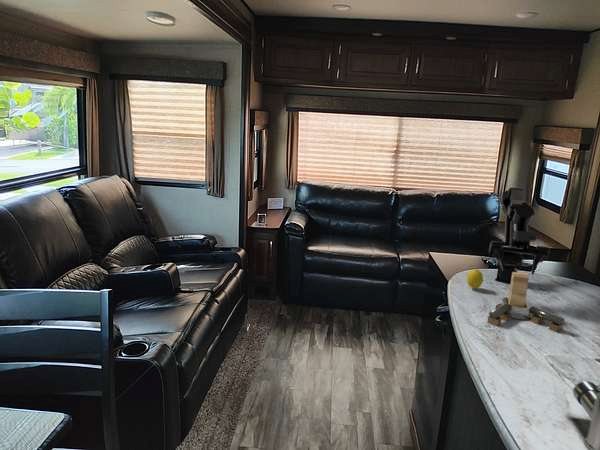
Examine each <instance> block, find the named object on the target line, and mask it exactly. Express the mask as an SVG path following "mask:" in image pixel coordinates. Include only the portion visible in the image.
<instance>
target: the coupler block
mask: <svg viewBox="0 0 600 450" xmlns="http://www.w3.org/2000/svg"><path fill="white" fill-rule="evenodd" d="M529 279H530V277H529V275H528V273H524V272H518V273H517V272H512V279H511V284H509V293H508V297H507V298H508V304H510V305H511V306H517V307H523V308H525V300H526V299H527V298H526V297H527V293H528V292H527V291H528V285H529V281H530V280H529Z"/></svg>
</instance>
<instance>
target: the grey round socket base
mask: <svg viewBox="0 0 600 450" xmlns="http://www.w3.org/2000/svg"><path fill="white" fill-rule="evenodd" d="M508 298H509V297H503V298H501V302H500V303H498V304H496V305H495V308H494V310H495V309H497V308H499V307H501V306H503V305H505V304H508ZM530 308H531V306H530V304H529V302H528V301H527V300H526V299H525V308H523V307H517V306H512V310H511V311H509V312H508V313H511V315H510V320H511V319H512V320H518V321H529V320H530V321H531V317H532V315H533V314H531V313H529V309H530Z"/></svg>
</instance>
